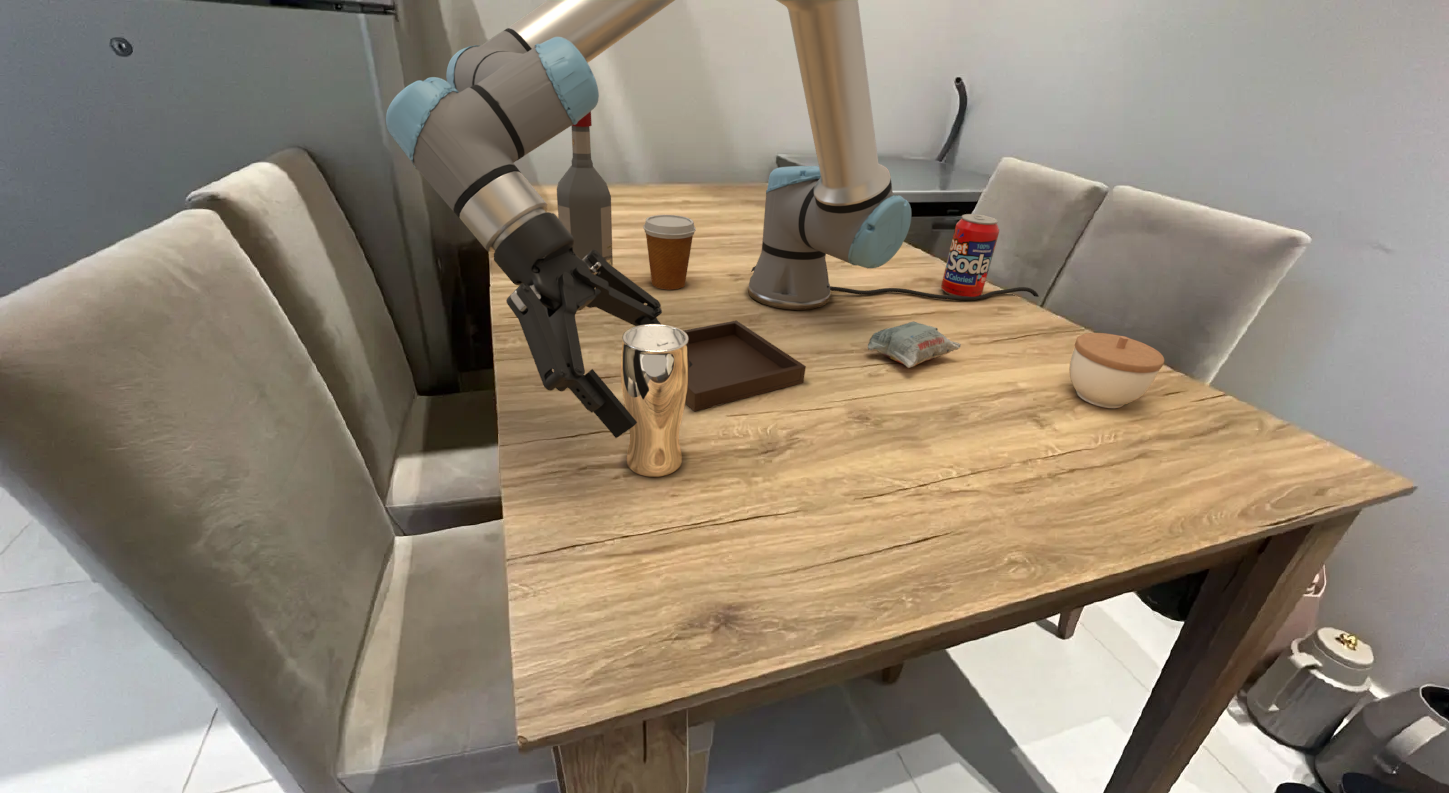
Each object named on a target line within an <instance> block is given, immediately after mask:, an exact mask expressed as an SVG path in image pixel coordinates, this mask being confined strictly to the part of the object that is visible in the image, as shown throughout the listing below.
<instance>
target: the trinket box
mask: <svg viewBox="0 0 1449 793" xmlns="http://www.w3.org/2000/svg"><path fill="white" fill-rule="evenodd" d="M1164 364H1165V358H1164V356H1163V354H1162V353H1161V352H1160V351H1158V350H1157V349H1155V348H1154V347H1152V346H1150V345H1148V344H1146V343H1143V342H1141V341H1139V340H1136V339H1133V338H1131V337H1129V336H1125V335H1118V334H1112V333H1105V332H1104V333H1103V332H1088V333H1082V334H1080V335H1079V336H1077V338H1076V339H1075V342H1074V347H1073V350H1072V354H1071V357H1070V361H1069V366H1068V367H1069V368H1068V373H1069V378H1070V382H1071V385H1072V386H1073V388H1074V389H1075V393H1076V395H1077V396H1078V397H1079V398H1080V399H1082V401H1085V402H1087V403H1088V404H1091V405H1093V406H1097V407H1099V408H1105V409H1119V408H1122V407H1124V406H1125V405H1127V404H1130V403H1133V402H1135V401H1137V400H1138V399H1140V398H1141V397H1142V396H1144V395H1145V394H1146V393H1147V391H1148V390H1149V389H1150V388H1151V386H1152V385H1153V384H1154V382H1155V381H1156V378H1157V377H1158V374H1159V372H1160V370H1161V369H1162V368H1163V366H1164Z"/></svg>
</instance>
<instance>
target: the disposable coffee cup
mask: <svg viewBox="0 0 1449 793" xmlns="http://www.w3.org/2000/svg"><path fill="white" fill-rule="evenodd" d="M645 218H646V219H645V222H644V224H643V226H642V228H643V230H644V233H645V237H646V238H645V239H646V245H647V254H648V263H649V270H650V279H651V285H652V286H653V287H654V288H657V289H660V290H667V291H669V290H679V289H683V288H684V287H685V286H686V280H687V275H688V268H689V262H690V256H691V251H692V243H693V238H694V235H695V232H696V231H697V228H696V227H695V223H694V220H693V219H692V218H689V217H687V216H683V215H677V214H656V215H655V214H654V215H650V216H647V217H645Z"/></svg>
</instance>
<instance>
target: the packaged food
mask: <svg viewBox="0 0 1449 793" xmlns="http://www.w3.org/2000/svg"><path fill="white" fill-rule="evenodd" d="M961 346H962V344H961V343H960V342H956V341H952V340H950V339H949V338H947V337H946V336H945V335H944V334H943V333H942V332H940V331H939V329H938V327H935V326H933V325H932V326H931V325H927V324H924V323H920V322H917V321H910V322H907V323H904V324H900V325H897V326H892V327H887V328H885V329H881V330H879V331H876V332H874V333H873V334H872V335H871V337H870V338H869V340H868V344H867V350H868V351H873V350H875V351H877V352H878V353H880V354H881V355H883V356H885V357H886V358H888V359H891V360H893V361H894V362H897V363H899V364H901V365H904V366H905V367H906V368H908V369H909V368H913V367H916V366H917V365H919V364H921V363H924V362H925V361H930V360H933V359H935V358H938V357H941V356H945V355H948V354H950V353H951V352H955V351H956V350H959V349H961Z"/></svg>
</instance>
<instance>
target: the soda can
mask: <svg viewBox="0 0 1449 793" xmlns="http://www.w3.org/2000/svg"><path fill="white" fill-rule="evenodd" d="M998 223H999V220H998V219H997V218H995V217H992V216H988V215H984V214H974V213H966V214H962V215H961V219H959V221H957V223H955V227H954V230H953V234H952V239H951V243H950V247H949V252H948V256H947V260H946V264H945V268H944V272H943V276H942V280H941V285H940V288H941V290H942V291H943V292H945V294H946V295H949V296H969V297H975V296H979V295H983V291H984V288H985V285H986V281H987V277H988V274H989V270H990V266H991V264H992V259H993V257H994V253H995V249H996V245H997V241H998V238H999V235H1000V228H999V225H998Z"/></svg>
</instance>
